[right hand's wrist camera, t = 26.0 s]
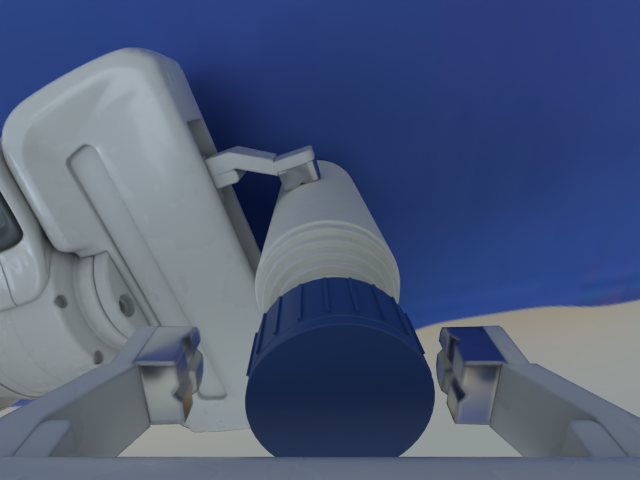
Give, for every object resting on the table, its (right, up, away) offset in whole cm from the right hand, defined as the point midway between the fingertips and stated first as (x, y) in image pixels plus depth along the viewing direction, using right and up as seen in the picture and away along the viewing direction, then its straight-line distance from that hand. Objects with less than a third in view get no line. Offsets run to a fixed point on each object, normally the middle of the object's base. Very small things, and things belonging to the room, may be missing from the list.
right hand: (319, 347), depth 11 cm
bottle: (0, +5, +14) cm, 15 cm away
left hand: (+1, +4, +9) cm, 10 cm away
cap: (0, -1, -2) cm, 2 cm away
